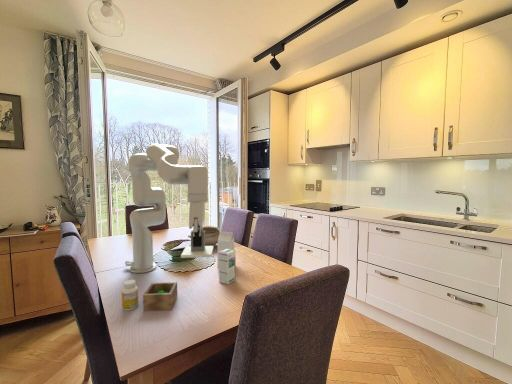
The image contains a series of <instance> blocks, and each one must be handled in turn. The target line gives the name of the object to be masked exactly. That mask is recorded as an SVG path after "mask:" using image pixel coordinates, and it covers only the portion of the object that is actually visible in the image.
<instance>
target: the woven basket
mask: <svg viewBox="0 0 512 384" xmlns="http://www.w3.org/2000/svg"><path fill="white" fill-rule="evenodd" d="M202 230H205V246H213V247H214V246H215V245H218V237H219V234H220V232H221V231H220V228H219V226H218V227H217V226H207V225H206V226H205V225H204V226H203V227H202ZM187 238H189V239H191V235H187Z"/></svg>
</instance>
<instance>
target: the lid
mask: <svg viewBox="0 0 512 384" xmlns="http://www.w3.org/2000/svg"><path fill="white" fill-rule="evenodd" d="M190 236H191V238H190V245H186V246H185V247H184V249H183V251H182V253H181V254H180V258H181V259H183V258H184V259H185V258H187V259H189V258H212V255H213V251H214V246H205V230H201V236H202V246H201V247H193V229H192V230H191V231H190Z"/></svg>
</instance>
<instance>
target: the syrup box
mask: <svg viewBox="0 0 512 384" xmlns="http://www.w3.org/2000/svg"><path fill="white" fill-rule="evenodd" d="M236 265H237V263H236V250H235V249H234V250H231V249H225V250H223V251H220V252H219V268H218V282H220V283H222V284H225V285H230V284H231V283H233V282H235V281H236V280H237V279H236V278H237V276H236V275H237V274H236V273H237V272H236Z"/></svg>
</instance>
